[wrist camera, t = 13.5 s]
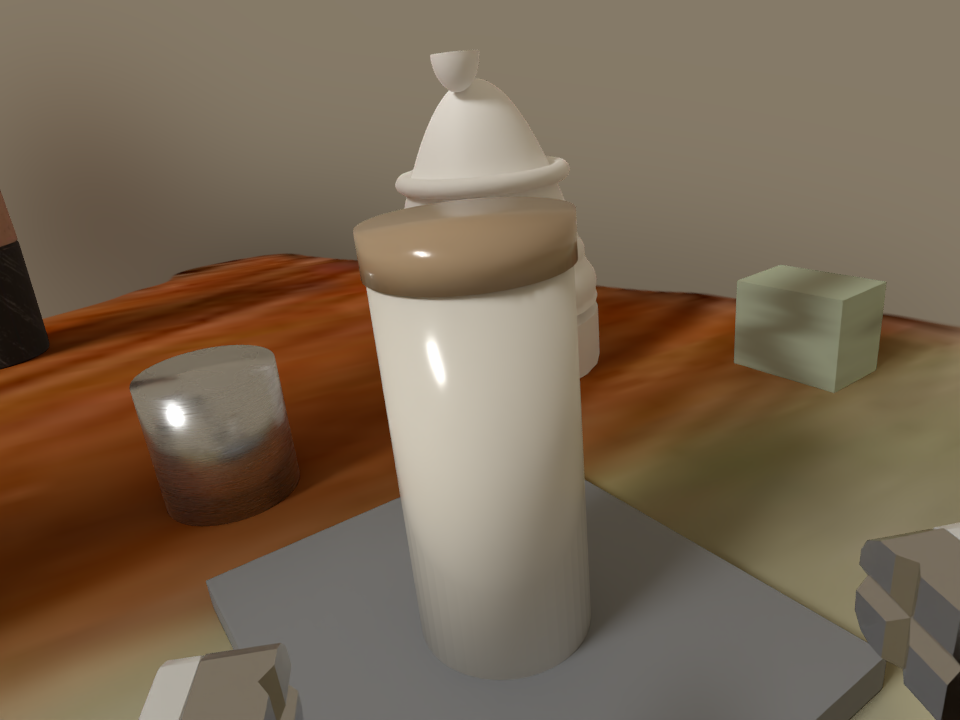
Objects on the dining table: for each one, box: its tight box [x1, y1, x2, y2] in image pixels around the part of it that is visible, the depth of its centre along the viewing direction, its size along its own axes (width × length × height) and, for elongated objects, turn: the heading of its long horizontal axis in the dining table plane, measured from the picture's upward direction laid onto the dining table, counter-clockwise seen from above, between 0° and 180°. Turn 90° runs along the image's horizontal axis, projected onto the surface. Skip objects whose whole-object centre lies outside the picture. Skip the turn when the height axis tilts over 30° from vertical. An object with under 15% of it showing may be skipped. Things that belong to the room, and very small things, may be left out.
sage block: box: [734, 265, 886, 393], centre depth 38 cm, size 6×4×5 cm, turn 35°
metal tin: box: [130, 345, 300, 526], centre depth 32 cm, size 6×6×6 cm
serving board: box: [206, 480, 886, 720], centre depth 22 cm, size 16×14×1 cm
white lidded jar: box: [353, 196, 591, 680], centre depth 19 cm, size 5×5×12 cm
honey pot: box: [395, 50, 600, 378], centre depth 41 cm, size 13×13×18 cm
